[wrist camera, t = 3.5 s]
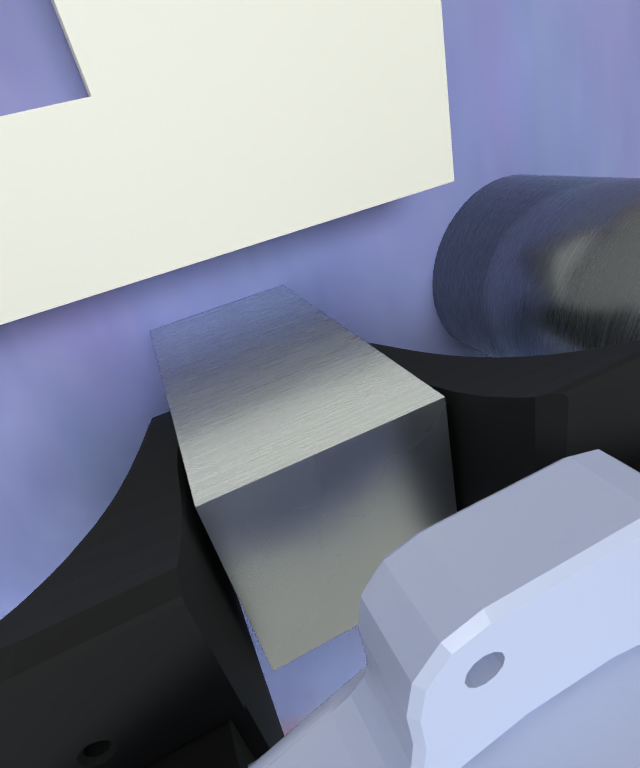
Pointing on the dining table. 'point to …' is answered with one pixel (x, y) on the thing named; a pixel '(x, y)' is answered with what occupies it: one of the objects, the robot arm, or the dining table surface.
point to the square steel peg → (301, 459)
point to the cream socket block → (215, 135)
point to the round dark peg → (542, 266)
